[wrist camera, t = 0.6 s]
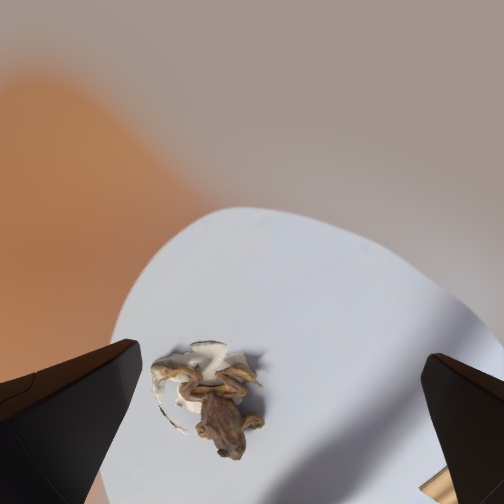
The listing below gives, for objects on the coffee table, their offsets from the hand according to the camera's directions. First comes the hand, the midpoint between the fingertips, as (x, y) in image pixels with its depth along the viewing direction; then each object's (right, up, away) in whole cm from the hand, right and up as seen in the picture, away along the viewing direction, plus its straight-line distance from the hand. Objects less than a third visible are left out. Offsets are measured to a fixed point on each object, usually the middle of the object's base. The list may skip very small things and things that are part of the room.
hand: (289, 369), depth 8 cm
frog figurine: (-4, -10, +16) cm, 19 cm away
